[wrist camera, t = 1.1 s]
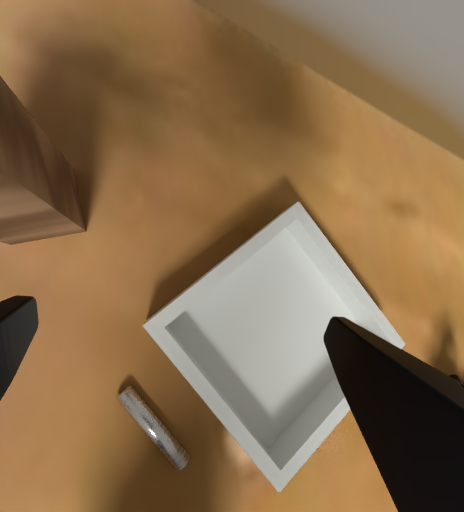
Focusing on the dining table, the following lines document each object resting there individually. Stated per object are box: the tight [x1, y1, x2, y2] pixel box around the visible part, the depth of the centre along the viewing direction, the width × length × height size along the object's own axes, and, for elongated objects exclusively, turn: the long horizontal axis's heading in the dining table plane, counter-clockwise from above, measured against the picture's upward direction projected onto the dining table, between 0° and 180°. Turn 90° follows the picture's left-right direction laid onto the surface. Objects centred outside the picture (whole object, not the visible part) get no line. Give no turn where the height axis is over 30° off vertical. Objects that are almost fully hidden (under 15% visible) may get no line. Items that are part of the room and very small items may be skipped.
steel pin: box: [116, 385, 190, 471], centre depth 20 cm, size 7×1×1 cm, turn 39°
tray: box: [143, 201, 405, 493], centre depth 22 cm, size 15×15×3 cm
